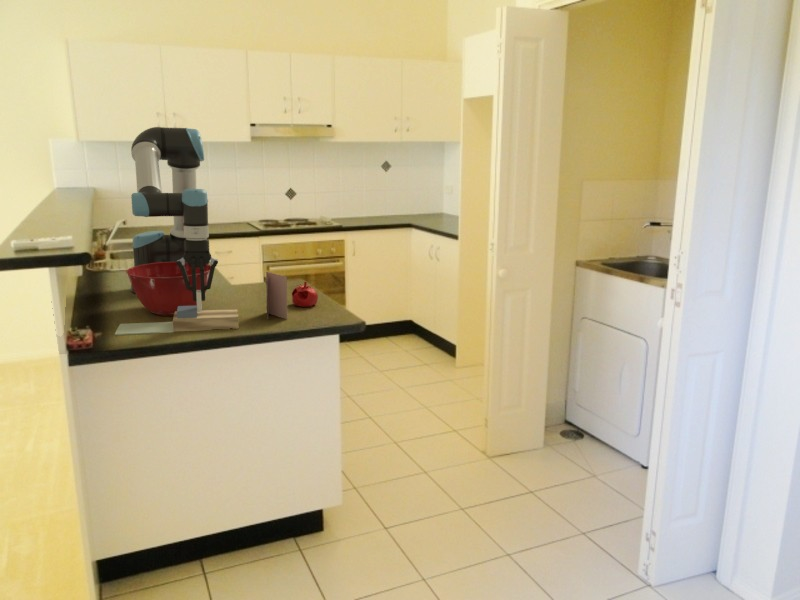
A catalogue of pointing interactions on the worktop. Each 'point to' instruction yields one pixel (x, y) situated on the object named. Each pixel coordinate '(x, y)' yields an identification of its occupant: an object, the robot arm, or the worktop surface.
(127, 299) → the worktop surface
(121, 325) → the rubber mat
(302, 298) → the pomegranate
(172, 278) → the mixing bowl
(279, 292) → the greeting card
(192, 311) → the blue-grey flat block
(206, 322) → the tan block
